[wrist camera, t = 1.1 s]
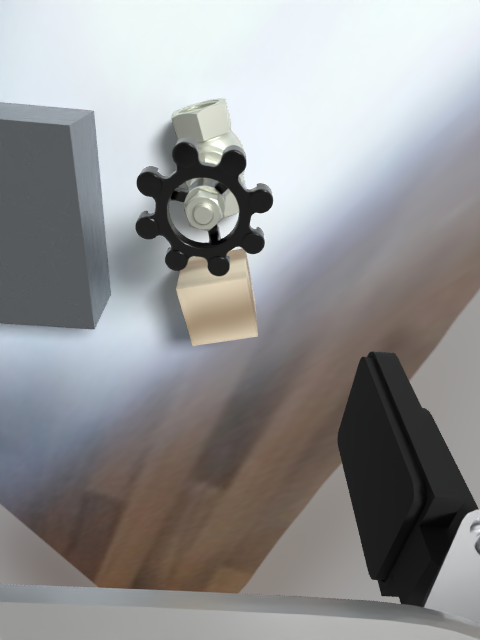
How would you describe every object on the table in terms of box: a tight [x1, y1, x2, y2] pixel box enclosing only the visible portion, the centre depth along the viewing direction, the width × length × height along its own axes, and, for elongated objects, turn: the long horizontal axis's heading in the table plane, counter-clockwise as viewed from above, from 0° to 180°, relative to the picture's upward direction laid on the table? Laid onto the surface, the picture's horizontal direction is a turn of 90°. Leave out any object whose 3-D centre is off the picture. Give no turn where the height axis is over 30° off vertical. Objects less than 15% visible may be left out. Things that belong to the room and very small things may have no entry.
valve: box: [136, 98, 273, 276], centre depth 25 cm, size 7×7×12 cm
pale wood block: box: [176, 249, 258, 346], centre depth 34 cm, size 5×5×5 cm
